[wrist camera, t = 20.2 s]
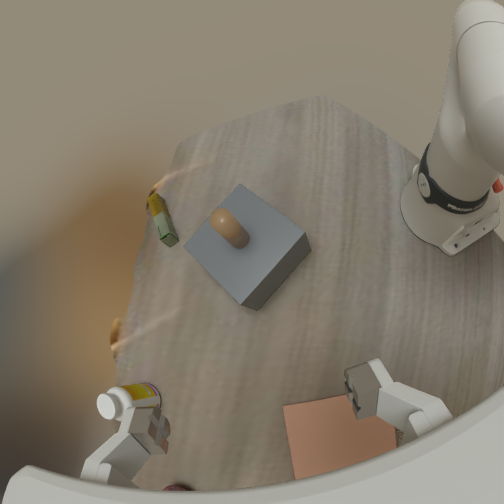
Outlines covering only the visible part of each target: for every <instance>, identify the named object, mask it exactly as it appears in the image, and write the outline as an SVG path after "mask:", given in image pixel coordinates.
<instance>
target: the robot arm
mask: <svg viewBox="0 0 504 504" xmlns="http://www.w3.org/2000/svg"><path fill="white" fill-rule="evenodd" d="M501 174H502V175H504V7H503V6H501V5H500V4H498V3H496V2H494V1H492V0H465V1H464V2H462V3H461V4H460V6H459V7H458V9H457V12H456V14H455V17H454V23H453V30H452V38H451V47H450V54H449V63H448V69H447V75H446V82H445V88H444V94H443V99H442V105H441V110H440V114H439V118H438V121H437V124H436V128H435V131H434V134H433V137H432V140H431V142H430V143H429V144H428V146H427V147H426V149H425V150H424V153H423V156H422V159H421V160H420V162H419V164H417V165H415V166H414V168H413V170H412V174H411V179H410V180H409V182H408V183H407V185H406V186H405V187H404V189H403V192H402V195H401V211H402V215H403V217H404V220H405V222H406V223H407V225H408V227H409V228H410V229H411V230H412V232H413V233H414V234H415V235H417V236H418V237H419V238H420V239H422V240H424V241H426V242H428V243H430V244H433V245H435V246H437V247H439V248H440V249H441V250H442V251H443V252H444V253H446V254H447V255H448V256H454V255H455V254H457V253H459V252H460V251H462V250H463V249H465V248H466V247H468V246H470V245H471V244H473V243H474V242H476V241H477V240H479V239H480V238H482V237H483V236H484V235H486V234H487V233H489V232H490V231H492V230H493V229H494V228H496V227H497V226H498V224H499V222H500V216H499V196H498V192H500V191H501V190H503V185H502V184H501V183H500V180H499V178H498V177H499V176H500V175H501ZM454 244H455V245H456V246H457V248H456V247H455V246H454ZM344 376H345V378H346V381H345V390H346V394H347V397H348V400H349V402H350V403H352V410H353V412H354V414H355V417H356V419H357V421H358V420H361V419H364V418H367V417H370V416H373V415H376V416H378V417H380V418H381V419H383V420H384V421H386V422H387V423H389V424H391V425H392V426H394V427H396V428H397V429H399V430H400V431H402V432H404V435H403V438H402V440H401V443H400V447H398V448H395V449H393V450H390V451H388V452H386V453H383V454H381V455H378V456H375V457H373V458H370V459H367V460H364V461H362V462H359V463H356V464H353V465H350V466H346V467H343V468H340V469H337V470H333V471H329V472H326V473H322V474H318V475H314V476H310V477H306V478H301V479H297V480H292V481H287V482H281V483H276V484H269V485H263V486H255V487H247V488H238V489H226V490H208V491H167V490H150V489H139V487H138V486H137V485H135V484H134V483H133V482H131V480H132V479H133V478H134V476H135V475H136V474H137V472H138V471H139V470H140V469H141V467H142V466H143V465H144V463H145V462H146V461H147V460H148V458H149V457H150V456H151V455H150V454H167V449H168V441H167V440H166V439H167V438H168V436H169V435H170V424H169V421H168V419H167V418H166V417H165V416H163V415H161V410H160V409H159V407H158V406H150V407H128V408H127V409H126V410H125V413H124V416H123V419H122V422H121V425H120V429H119V432H118V433H115V434H114V435H113V436H112V437H111V438H110V439H109V440H107V441H106V442H105V443H104V444H103V445H102V446H101V447H100V448H99V449H97V450H96V451H95V452H94V453H93V454H92V455H91V456H90V457H88V458H87V459H86V461H85V464H84V467H83V470H82V473H81V476H80V479H78V478H74V477H70V476H66V475H62V474H58V473H55V472H51V471H48V470H44V469H41V468H38V467H36V466H32V465H27V466H25V467H24V468H22V469H21V470H20V471H18V472H17V473H16V474H15V475H14V476H12V478H11V479H10V481H9V483H8V485H7V489H6V492H5V495H4V498H3V502H2V504H504V385H503V386H502V387H500V388H499V389H498V390H497V391H495V392H494V393H492V394H491V395H490V396H488V397H487V398H485V399H484V400H483V401H481V402H480V403H478V404H477V405H475V406H474V407H472V408H471V409H469V410H468V411H466V412H464V413H463V414H461V415H459V416H458V417H456V418H455V419H454V418H453V416H452V415H451V413H450V412H449V410H448V409H447V407H446V406H445V405H444V403H443V402H442V400H441V399H439V398H437V397H434V396H432V395H429V394H427V393H424V392H422V391H419V390H417V389H414V388H412V387H409V386H407V385H405V384H402V383H400V382H395V383H394V381H393V380H392V378H391V377H390V375H389V373H388V372H387V370H386V369H385V367H384V365H383V364H382V362H381V361H380V359H378V358H376V359H373V360H371V361H368V362H365V363H362V364H359V365H356V366H353V367H350V368H347V369H345V370H344Z"/></svg>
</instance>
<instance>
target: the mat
mask: <svg viewBox="0 0 504 504" xmlns="http://www.w3.org/2000/svg"><path fill="white" fill-rule="evenodd" d="M283 412H284V418H285V423H286V429H287V435H288V440H289V446H290V452H291V457H292V463H293V469H294V475H295V480H297V479H301V478H306V477H310V476H314V475H318V474H322V473H326V472H329V471H333V470H337V469H340V468H343V467H346V466H350V465H353V464H356V463H359V462H362V461H364V460H367V459H370V458H373V457H375V456H378V455H381V454H383V453H386V452H388V451H390V450H393V449H395V448H397V445H396V433H395V427H394V426H392V425H391V424H389V423H387V422H386V421H384V420H383V419H381V418H380V417H378V416H376V415H373V416H370V417H367V418H364V419H361V420H358V421H357V419H356V417H355V414H354V412H353V410H352V403H350V402H349V400H348V397H347V394H344V395H340V396H335V397H330V398H325V399H320V400H315V401H309V402H303V403H297V404H291V405H284V406H283Z"/></svg>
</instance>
